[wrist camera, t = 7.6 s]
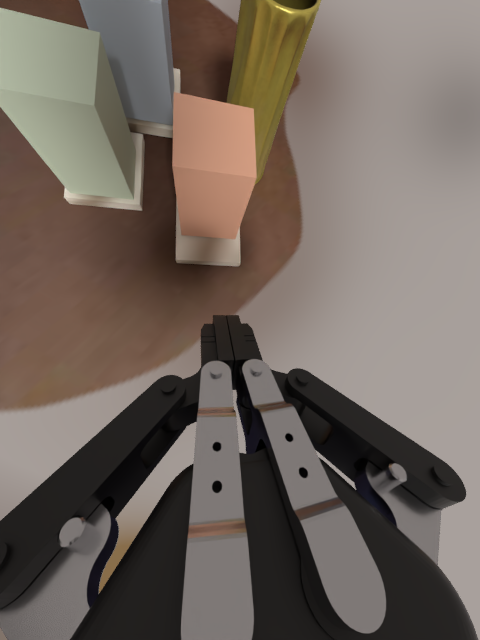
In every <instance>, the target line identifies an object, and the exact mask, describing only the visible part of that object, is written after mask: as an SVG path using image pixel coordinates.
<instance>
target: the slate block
mask: <svg viewBox="0 0 480 640" xmlns="http://www.w3.org/2000/svg"><path fill="white" fill-rule="evenodd" d="M79 2H80V5H81V8H82V11H83V14H84V17H85V20H86V23H87V26H88V29H89V30H92V31H96V32H100V35H101V38H102V41H103V44H104V48H105V51H106V54H107V58H108V61H109V64H110V67H111V71H112V74H113V77H114V80H115V84H116V87H117V90H118V94H119V97H120V100H121V103H122V107H123V110H124V113H125V117H127V118H133V119H139V120H144V121H150V122H156V123H161V124H167V125H173V101H174V71H173V59H172V47H171V34H170V22H169V10H168V0H79Z"/></svg>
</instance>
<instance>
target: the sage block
mask: <svg viewBox="0 0 480 640" xmlns="http://www.w3.org/2000/svg"><path fill="white" fill-rule="evenodd" d="M0 107H1V108H2V109H3V111H4V112H5V113H6V114H7V116H8V117H9V118H10V119H11V121H12V122H13V123H14V124H15V126H16V127H17V128H18V129H19V130H20V132H21V133H22V134H23V135H24V137H25V138H26V139H27V140H28V142H29V143H30V144H31V145H32V147H33V148H34V149H35V150H36V151H37V153H38V154H39V155H40V156H41V158H42V159H43V160H44V161H45V163H46V164H47V165H48V166H49V168H50V169H51V170H52V171H53V173H54V174H55V175H56V176H57V177H58V179H59V180H60V181H61V182H62V184H63V185H64V186H65V187H66V189H67V190H68V191H69V192H70V193H76V194H86V195H95V196H104V197H114V198H123V199H133V200H134V180H135V157H136V149H135V146H134V143H133V139H132V136H131V133H130V130H129V126H128V123H127V120H126V117H125V113H124V110H123V107H122V103H121V100H120V97H119V94H118V90H117V87H116V84H115V80H114V77H113V74H112V71H111V67H110V64H109V61H108V58H107V54H106V51H105V48H104V44H103V41H102V38H101V35H100V32H96V31H92V30H88V29H84V28H80V27H76V26H72V25H68V24H64V23H60V22H56V21H52V20H48V19H44V18H40V17H36V16H31V15H27V14H23V13H19V12H15V11H11V10H7V9H3V8H0Z"/></svg>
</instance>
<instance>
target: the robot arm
mask: <svg viewBox="0 0 480 640" xmlns="http://www.w3.org/2000/svg"><path fill="white" fill-rule="evenodd" d="M232 390H236V391H237V400H236V403H237V408H238V412H239V416H240V420H241V424H242V428H243V432H244V436H245V442H246V454H244V453H239V445H238V433H237V419H236V412H235V410H234V407H233V394H232ZM194 422H197V426H196V440H195V453H194V464H192V465H190V466H189V467H187V468H186V469H184V470H183V471H182V472H181V473H180V474H179V475H178V476H177V477H176V478H175V479H174V480H173V481H172V482H171V484H170V485H169V487H168V488H167V489H166V491H165V493H164V494H163V496H162V497H161V499H160V500H159V502H158V503H157V505H156V506H155V508H154V510H153V511H152V513H151V514H150V516H149V517H148V519H147V521H146V522H145V524H144V525H143V527H142V528H141V530H140V531H139V533H138V535H137V536H136V538H135V539H134V541H133V542H132V544H131V545H130V547H129V549H128V550H127V552H126V553H125V555H124V556H123V558H122V559H121V561H120V562H119V564H118V566H117V567H116V569H115V570H114V572H113V573H112V575H111V576H110V578H109V580H108V581H107V583H106V584H105V586H104V587H103V589H102V590H101V592H100V593H99V584H100V579H101V576H102V573H103V570H104V568H105V566H106V563H107V562H108V560H109V558H110V556H111V555H112V553H113V551H114V549H115V547H116V544H117V540H118V535H119V527H118V523H117V520H116V519H115V518H116V517H117V516H118V515H119V513H120V512H121V511H122V509H123V508H124V507H125V505H126V504H127V503H128V502H129V500H130V499H131V498H132V496H133V495H134V494H135V493H136V491H137V490H138V489H139V487H140V486H141V485H142V484H143V482H144V481H145V480H146V478H147V477H148V476H149V475H150V473H151V472H152V471H153V469H154V468H155V467H156V466H157V464H158V463H159V462H160V461H161V459H162V458H163V457H164V455H165V454H166V453H167V452H168V450H169V449H170V448H171V446H172V445H173V444H174V443H175V441H176V440H177V439H178V437H179V436H180V435H181V434H182V432H183V431H184V430H185V428H186V426H188V425H190V424H192V423H194ZM315 450H317V451H318V452H319V453H320V454H321V455H322V456H324V457H325V458H326V459H327V460H328V461H330V462H331V463H332V464H333V465H334V466H336V467H337V468H338V469H339V470H340V471H342V473H344V474H345V475H346V476H347V477H348V478H350V479H351V480H352V481H353V482H354V483H355V487H356V490H355V489H354V488H353V487H352V486H351V485H350V484H349V483H347V482H346V481H345V480H344V479H343V478H342V477H341V476H340V475H339V474H337V473H336V472H335V471H334V470H333V469H332V468H331V467H330V466H329V465H328V464H327V463H325V462H324V461H323V460H321V459H320V458H319V457H318V456H317V453H316V451H315ZM465 497H466V490H465V487H464V484H463V482H462V480H461V479H460V477H459V476H458V475H457V473H456V472H455V471H454V470H453V469H452V468H451V467H450V466H449V465H448V464H447V463H445V462H444V461H442V460H441V459H439V458H438V457H436V456H435V455H433V454H432V453H430V452H429V451H427V450H426V449H424V448H423V447H421V446H419V445H418V444H417V443H415V442H414V441H412V440H411V439H409V438H408V437H406V436H405V435H403V434H402V433H400V432H399V431H397V430H396V429H394V428H393V427H391V426H390V425H388V424H387V423H385V422H383V421H382V420H380V419H379V418H377V417H376V416H374V415H373V414H371V413H370V412H368V411H367V410H365V409H364V408H362V407H361V406H359V405H358V404H356V403H355V402H353V401H352V400H350V399H349V398H347V397H346V396H344V395H343V394H341V393H339V392H338V391H337V390H335V389H334V388H332V387H331V386H329V385H327V384H326V383H324V382H323V381H321V380H320V379H318V378H317V377H315V376H314V375H312V374H311V373H309V372H308V371H306V370H303V369H292V370H291V371H289V373H288V374H285V373H281V372H276V371H274V370H271V369H270V368H269V366H268V365H267V364H266V363H265V362H263V360H262V357H261V354H260V351H259V348H258V345H257V342H256V339H255V337H254V333H253V330H252V328H251V327H250V326H249V325H248V324H241V322H240V319H239V316H238V315H226V316H225V315H213V324H204V326H203V327H202V329H201V368H200V370H199V371H198V373H196V374H195V375H193V376H191V377H188V378H186V379H182V378H180V377H178V376H175V375H167V376H164V377H161V378H160V379H158V380H157V381H156V382H155V383H153V384H152V385H151V386H150V387H149V388H148V389H147V390H146V391H145V392H143V394H141V395H140V396H139V397H138V398H137V399H136V400H135V401H133V402H132V403H131V404H130V405H129V406H128V407H127V408H126V409H125V410H123V411H122V412H121V413H120V414H119V415H118V416H117V417H116V418H114V419H113V420H112V421H111V422H110V423H109V424H108V425H107V426H106V427H104V429H102V430H101V431H100V432H99V433H98V434H97V435H96V436H94V437H93V438H92V439H91V440H90V441H89V442H88V443H87V444H85V446H83V447H82V448H81V449H80V450H79V451H78V452H77V453H75V455H73V456H72V457H71V458H70V459H69V460H68V461H67V462H66V463H64V464H63V465H62V466H61V467H60V468H59V469H58V470H57V471H55V472H54V473H53V474H52V475H51V476H50V477H49V478H48V479H47V480H45V481H44V482H43V483H42V484H41V485H40V486H39V487H38V488H37V489H35V490H34V491H33V492H32V493H31V494H30V495H29V496H28V497H26V498H25V499H24V500H23V501H22V502H21V503H20V504H19V505H18V506H16V507H15V508H14V509H13V510H12V511H11V512H10V513H9V514H8V515H6V516H5V517H4V518H3V519H2V520H1V521H0V628H1V629H2V631H3V633H4V634H5V636H6V638H7V639H8V640H478V638H477V634H476V631H475V629H474V626H473V623H472V621H471V619H470V616H469V614H468V612H467V610H466V608H465V606H464V604H463V602H462V600H461V599H460V597H459V595H458V593H457V592H456V590H455V589H454V587H453V586H452V584H451V582H450V581H449V580H448V578H447V577H446V576H445V574H444V573H443V572H442V570H441V569H440V568H439V567H438V566H437V565H438V550H439V534H440V520H441V510H442V509H443V508H446V507H448V506H451V505H453V504H456V503H458V502H461V501H463V500H464V499H465Z"/></svg>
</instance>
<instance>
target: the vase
mask: <svg viewBox="0 0 480 640" xmlns="http://www.w3.org/2000/svg"><path fill="white" fill-rule="evenodd" d="M320 2H321V0H241V5H240V12H239V20H238V26H237V34H236V42H235V50H234V58H233V65H232V72H231V78H230V84H229V89H228V96H227V102H226V103H229V104H234V105H239V106H243V107H248V108H253V109H254V126H255V150H256V174H257V178H256V181H255V184H256V183H258V182H259V181H260V179H261V178H262V176H263V173H264V168H265V164H266V162H267V159H268V156H269V153H270V150H271V146H272V143H273V140H274V136H275V133H276V130H277V127H278V123H279V120H280V117H281V115H282V112H283V109H284V106H285V103H286V100H287V97H288V94H289V92H290V89H291V86H292V83H293V80H294V77H295V74H296V71H297V68H298V65H299V62H300V59H301V57H302V54H303V51H304V48H305V44H306V42H307V39H308V36H309V33H310V31H311V28H312V25H313V22H314V19H315V16H316V13H317V11H318V9H319V5H320Z"/></svg>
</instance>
